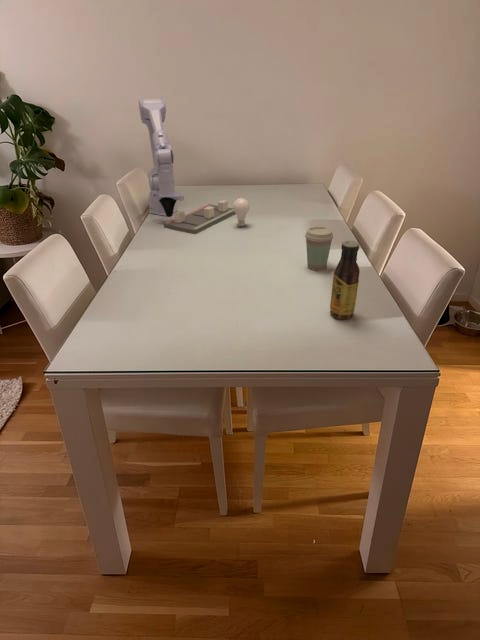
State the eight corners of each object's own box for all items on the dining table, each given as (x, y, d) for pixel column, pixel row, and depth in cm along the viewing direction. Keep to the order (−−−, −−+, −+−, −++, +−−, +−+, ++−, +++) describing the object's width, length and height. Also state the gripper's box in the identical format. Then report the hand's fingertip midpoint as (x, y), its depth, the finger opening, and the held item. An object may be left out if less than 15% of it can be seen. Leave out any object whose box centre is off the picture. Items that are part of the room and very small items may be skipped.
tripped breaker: (174, 222, 181) (173, 212, 180) (180, 219, 184) (179, 210, 182) (179, 223, 180) (178, 213, 178) (185, 220, 183) (184, 211, 181)
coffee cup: (332, 263, 149) (335, 227, 143) (327, 274, 142) (331, 236, 136) (306, 260, 152) (308, 224, 146) (300, 270, 145) (302, 233, 139)
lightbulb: (250, 223, 184) (250, 196, 178) (248, 229, 178) (248, 200, 173) (234, 223, 184) (233, 195, 179) (232, 229, 179) (231, 200, 173)
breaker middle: (204, 217, 185) (203, 208, 184) (209, 215, 188) (209, 206, 186) (209, 218, 184) (208, 209, 182) (214, 216, 187) (213, 207, 185)
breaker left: (218, 211, 193) (218, 202, 191) (223, 208, 195) (222, 200, 193) (223, 212, 192) (222, 202, 190) (227, 209, 194) (227, 200, 192)
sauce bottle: (326, 309, 123) (333, 238, 113) (349, 308, 123) (358, 237, 113) (333, 322, 117) (340, 248, 107) (357, 320, 118) (367, 247, 108)
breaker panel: (164, 227, 181) (164, 223, 180) (208, 207, 203) (208, 203, 202) (195, 234, 174) (195, 230, 174) (237, 212, 196) (237, 208, 195)
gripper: (144, 181, 177) (148, 216, 184) (174, 186, 171) (177, 222, 178) (157, 177, 183) (160, 211, 189) (186, 182, 176) (188, 217, 183)
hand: (169, 216), depth 184 cm, fingers closed
